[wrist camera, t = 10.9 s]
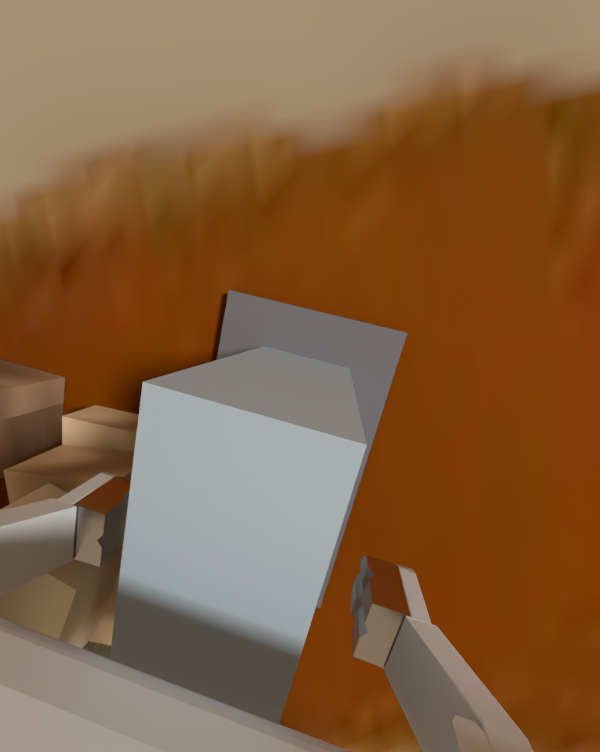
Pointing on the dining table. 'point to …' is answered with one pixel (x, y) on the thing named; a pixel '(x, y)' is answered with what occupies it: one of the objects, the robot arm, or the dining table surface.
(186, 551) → the light blue rectangular block
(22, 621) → the offcut top
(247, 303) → the mat
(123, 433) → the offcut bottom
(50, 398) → the rack
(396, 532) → the dining table surface
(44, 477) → the offcut middle
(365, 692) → the dining table surface
